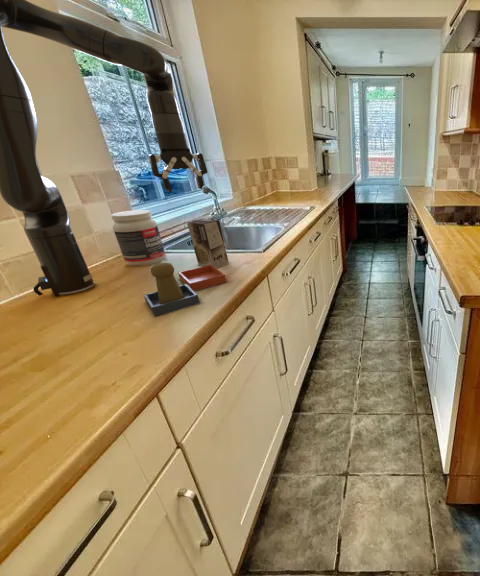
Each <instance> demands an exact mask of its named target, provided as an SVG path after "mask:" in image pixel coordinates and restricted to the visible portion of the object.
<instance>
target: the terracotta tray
mask: <svg viewBox="0 0 480 576" xmlns="http://www.w3.org/2000/svg"><path fill="white" fill-rule="evenodd" d="M177 274H178V278H179V280H180V281H181V282H182V283H183V285H184V284H187V285H188V286H189V287H190V288H191V289H192V290H193V291H194V292H195V291H198V290H202V289H206V288H210V287H213V286H217V285H221V284H224V283H227V282H228V281H227V277H226V274H225V273H224V272H223V271H221V270H220V269H218V268H215V267H214V266H213V265H207V266H199V267H195V268H189V269H186V270H181V271H177Z"/></svg>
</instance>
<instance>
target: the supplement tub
mask: <svg viewBox="0 0 480 576" xmlns="http://www.w3.org/2000/svg"><path fill="white" fill-rule="evenodd" d="M110 216H111V221H113V223H112V231H113V232H114V235H115V238H116V241H117V244H118V247H119V249H120V252H121V254H122V257H123V260H124V263H125V264H126V265H129V266H130V267H144V266H152V265H155V264H158V263H162V261H164V260H166V258H167V254H166V251H165V248H164V243H163V241H162V237H161V234H160V230H159V228H158V224H157V222H156V220H155V219H153V218H152V217H153V214H152V212H151V210H149V209H148V210H147V209H135V210H133V209H132V210H125V211H124V210H123V211H117V212H114V213H112V214H111V215H110Z"/></svg>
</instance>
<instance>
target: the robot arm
mask: <svg viewBox="0 0 480 576" xmlns="http://www.w3.org/2000/svg"><path fill="white" fill-rule="evenodd" d="M3 28H4V29H5V28H6V29H9V30H10V29H11V30H14V31H19V32H23V33H26V34H30V35H34V36H38V37H41V38H43V39H47V40H50V41H53V42H55V43H58V44H60V45H63V46H66V47H68V48H71V49H73V50H76V51H77V52H81V53H84V54H85V55H88V56H91V57H94V58H96V59H99V60H101V61H104V62H107V63H109V64H112V65H116V66H123V67H125V68H128V69H130V70H133V71H136V72H137V73H140V74H142V76H143V80H144V83H145V86H146V95H145V96H146V100H147V105H148V109H149V111H150V115H151V116H150V117H151V123H152V126H153V130H154V134H155V137H156V140H157V145H158V148H159V152H160V154H149V155H148V160H149V164H150V169H151V173H152V175H153V176H154V177H156V178H160V179H161V181H162V185H163V188H164V190H165V191H167V192H168V193H171V192H173V189H172V186H171V183H170V182H171V181H170V179H169V178H168V176H169V174H170V173H171V171H172V170H174V171H175V170H187V169H188V170H190V171H191V172H192V173H193V174H194V175H195V180H196V185H197V188H198V189H199V190H202V189H203V188H204V187H205V184H204V179H203V176H204V175H206V174H208V168H207V165H206V161H205V159H204V158H205V157H204V156H203V153H201V152H197V153H192V152H191V150H190V146H189V141H188V138H187V134H186V133H187V132H186V128H185V125H184V122H183V120H182V116H181V113H180V109H179V105H178V102H177V101H178V100H177V98H176V95H175V88H174V81H173V76H172V75H173V74H172V71H171V67H170V64H169V62H168V60H167V59H166V57H165V56H164V55H163V54H162V53H161V52H160V51H159V50H158V49H156V48H155V47H153V46H151V45H149V44H147V43H144V42H141V41H138V40H136V39H132V38H129V37H126V36H122V35H119V34H117V33H115V32H113V31H110V30H108V29H106V28H103V27H101V26H99V25H96V24H93V23H91V22H88V21H86V20H83V19H80V18H76V17H74V16H70V15H67V14H63V13H59V12H55V11H52V10H50V9H46V8H44V7H42V6H40V5H37V4H34V3H32V2H30V1H28V0H0V196H1V197H2V200H3V201H4V202H5V203H6V204H7V205H8V206H10V207H11V208H12V209H14V210H16V211H19V212H21V213H22V215H23V218H24V225H23V231H24V234H25V235H26V237H27V239H28V241H29V244H30V247H31V248H32V250H33V252H34V254H35V257H36V258H37V261H38V262H39V264H40V270H41V272H42V273H43V276H39V277H38V279H37V284H36V285H34V287H33V292H34V294H36V295H37V296H40V297H41V296H43V295H44V293H43V292H42V291H46V290H51V292H52V294H53V297H55V298H57V297H62V296H63V297H66V296H72V295H77V294H80V293H84V292H87V291H90V290H92V289H93V288H95V287H96V283H95V281H94V279H93V275H92V273H91V272H90V270H89V268H88V264H87V263H86V261H85V258H84V256H83V253H82V250H81V249H80V245H79V244H78V241H77V239H76V236H75V234H74V232H73V229H72V226H71V218H70V215H69V213H68V209H67V207H66V204H65V202H64V199H63V196H62V194H61V192H60V190H59V188H58V187H57V185H56V184H55V183H54V182H53V181H52V180H50V179H49V178H47V177H45V176H43V175H42V174H41V170H40V168H39V164H38V161H37V154H36V153H37V139H38V120H37V115H36V111H35V106H34V103H33V98H32V95H31V92H30V90H29V87H28V85H27V84H26V82H25V79H24V77H23V76H22V75H21V73H20V71H19V69H18V67H17V66H16V64H15V62H14V60H13V58H12V56H11V54H10V52H9V50H8V48H7V44H6V42H5V38H4V33H3ZM193 159H194V160H195V161H197V162H198V165H199V169H200V170H199V169H198V168H197V167H196V166H195V165H194V163H193V164H192V162H193ZM160 160H161V161H162V162H163V163H164V166H163V169H162V171H161V172H159V167H158V163H159V162H160ZM39 289H40V290H41V291H40V290H39Z"/></svg>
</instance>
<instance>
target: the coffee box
mask: <svg viewBox="0 0 480 576" xmlns="http://www.w3.org/2000/svg"><path fill="white" fill-rule="evenodd" d="M186 224H187V229H188V232H189V235H190V240H191V243H192V247H193V250H194V253H195V257H196V261H197V265H198V266H199V267H202V266H207V265H213V266H214V267H215V268H217V269H218V268H220V267H224V266H226V265H228V264H230V262H229V258H228V254H227V253H228V252H227V249H226V244H225V240H224V235H223V231H222V225H221V222H220V220H219V219H212V218H211V219H210V218H198V219H194V220H190V221H187V222H186Z"/></svg>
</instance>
